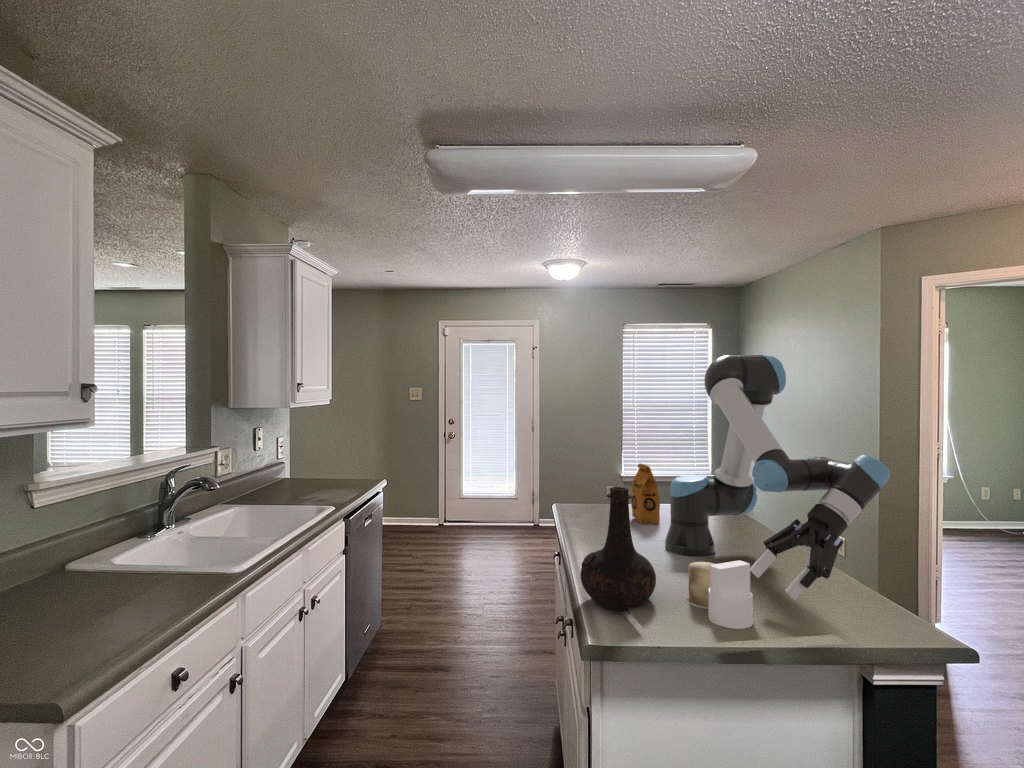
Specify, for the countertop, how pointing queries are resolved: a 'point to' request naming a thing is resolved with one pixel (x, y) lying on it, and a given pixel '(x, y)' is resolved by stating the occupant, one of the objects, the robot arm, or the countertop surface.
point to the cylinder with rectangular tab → (730, 595)
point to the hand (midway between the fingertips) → (770, 584)
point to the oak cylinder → (699, 583)
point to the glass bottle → (618, 562)
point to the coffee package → (645, 497)
